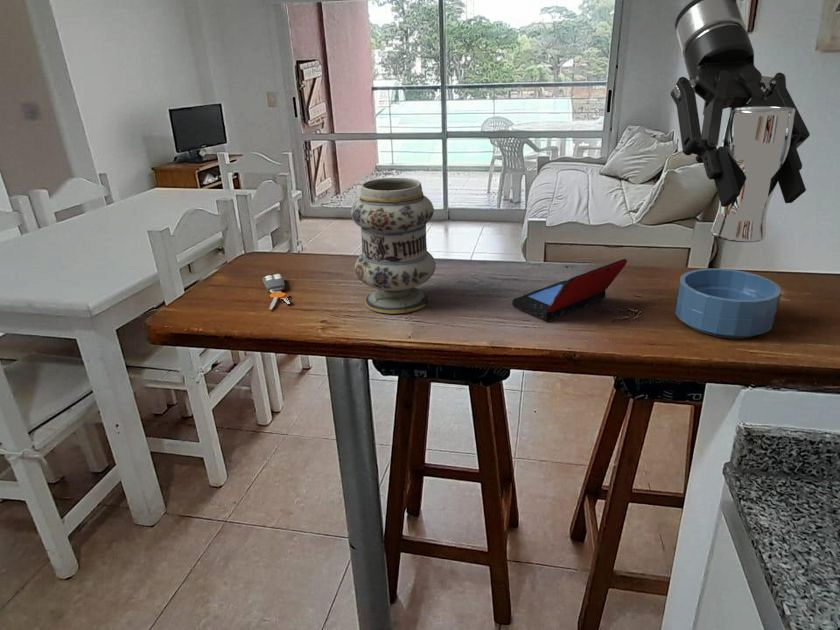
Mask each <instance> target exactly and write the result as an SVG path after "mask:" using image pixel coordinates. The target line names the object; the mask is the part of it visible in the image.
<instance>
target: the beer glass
mask: <svg viewBox="0 0 840 630" xmlns="http://www.w3.org/2000/svg"><path fill="white" fill-rule="evenodd" d="M794 114H795V109H794V108H789V107H776V106H747V107H735V108H730V109H729V114H728V118H727V121H726V125H725V128H724V129H725V130H724V133H723V138H722V141H721V142H722V143H721V146H726V149H727V152H728V155H729V158H730V162H731V165H732V168H733V172H734V175H735V178H736V181H737V185H738V188H739V191H740V195H739V196H738V197H737V198H736V199H735V200H734V201H733V202H732V203H731V204H730V205H729V206H728V207H722V206H721V202H720V200H719V202H718V209H717V212H716V215H715V218H714V220H713V223H712V225H711V229H710V235H712V236H713V237H714V238H716V239H720V240H722V241H726V242H727V241H728V242H733V243H757V242H761V241H763V240H765V238H766V233H767V213H768V208H769V205H770V201H771V199H772V197H773V193H774V191H775V189H776V187H777V184H778V180H779V177H780V175H781V173H782V170H783V167H784V165H785V162H786V159H787V155H788V151H789V147H790V142H791V137H792V130H793V122H794Z"/></svg>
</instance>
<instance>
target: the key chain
mask: <svg viewBox="0 0 840 630" xmlns="http://www.w3.org/2000/svg"><path fill="white" fill-rule="evenodd" d="M263 283H264V284H263ZM262 284H263V285H265V286H264V288H265V287H266V288H265V289H266V291H267V292H268V291H269V293H270V294H269V297H270V298H271V299H272V301H271V303H270V305H269V308H268V310H269V311H272V310H273V309H274V307H275V306H276V303H277V302H278V300H281V299H284V301H285V302H286V303H287V304H290V302H289V300H290V299H289V298H287V297H286V296H288V295H286V294H287V293H285V292H282V290H283V291H284V290H285V289H286V284H285V278H284V275H283V274H280V273H274V274H269V275H264V276H263V277H262ZM282 297H286V298H287V300H288V299H289V300H288V301H287V300H286V298H282ZM279 298H280V299H279ZM286 303H285V304H286ZM287 304H286V305H287ZM270 309H271V310H270Z"/></svg>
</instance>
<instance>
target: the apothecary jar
mask: <svg viewBox="0 0 840 630" xmlns="http://www.w3.org/2000/svg"><path fill="white" fill-rule="evenodd" d="M353 203H354V204H352V206H351V209H350V216H351V219H352V221H353V222H354V223H355V225H357V226H358V227H360V235H361V253H360V254H359V255H358V257H357V258H356V260H355V263H354V273H355V275H356V278H358V279H359V281H361V282H362V283H363V284H365V285H366V286H368V287H370V288H373V289H375V290H373V291H372V292H371V293H369V294H368V295H367V296H366V298H365V299H364V303H365V304H364V305H365V306H366V307H367V309H368V310H370V311H373V312H375V313H379V314H385V315H386V314H387V315H401V314H410V313H413V312H416V311H419V310H422V309H423V308H425V307H426V303H428V302H430V295H429V294H428V293H427V292H426V291H424V290H423V289H419V288H417V287H419V286H421V285H423V284H425V283H426V282H427V281H429V280H430V279H431V278H432V276H433V275H434V274H435V271H436V267H437V264H436V260H435V258H434V256H433V255H432V254H431V253H430V252H429V251H428V246H427V224H428V223H429V222H430V221H431V220H432V218H433V217H434V212H435V208H434V205H433V202H432V201H431V200H430V199H429V197H427V196H426V195H424V191H423V187H422V182H420V180H418V179H414V178H409V177H381V178H376V179H371V180H370V179H369V180H367V181H364V182H363V183H362V184H361V186H360V195H359V198H358V199H357V200H356V201H355V202H353Z"/></svg>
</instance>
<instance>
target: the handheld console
mask: <svg viewBox="0 0 840 630" xmlns="http://www.w3.org/2000/svg"><path fill="white" fill-rule="evenodd" d="M627 263H628V259H626V258H623V259H619V260H617V261H615V262H612V263H608V264H606V265H604V266H600V267H598V268H595V269H592V270H589V271H587V272H584V273H581V274H577V275H576V276H573V277H571V278H569V279H567V280H562V281H559V282H555V283H553V284H550V285H548V286H547V285H546V286H544V287H541V288H539V289H536V290H534V291H531V292H527V293H526V294H523V295H520V296H517V297H515V298H513V299H512V303H511V304H512V306H513V307H514V308H516V309H518V310H521V311H522V312H525V313H526V314H529V315H532V316H534V317H535V318H538V319H541V320H543V321H544V322H550V321H554V319H557V318H560V317H562V316H564V315H567V314H569V313H571V312H573V310H577V309H581V308H584V307H586V306H589V305H592V304H594V303H597V302H600V301H602V300H604V299H605V298H606V291H607V290H608V288H609V287H610V286H611V284H612V283H613V282H614V280H615V279H616V278H617V276H619V274H620V273H621V271H622V270H623V269H624V268H625V266H626V264H627Z"/></svg>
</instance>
